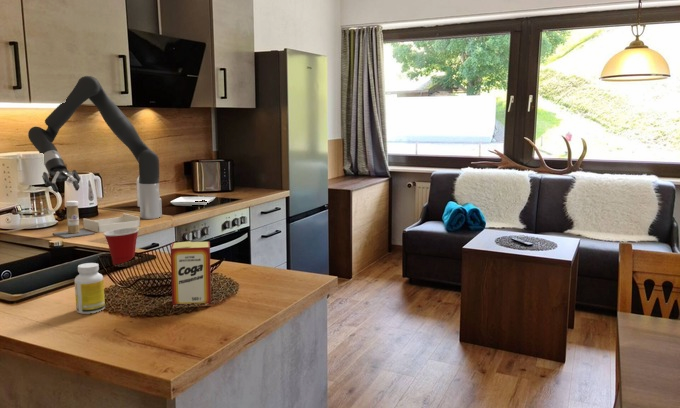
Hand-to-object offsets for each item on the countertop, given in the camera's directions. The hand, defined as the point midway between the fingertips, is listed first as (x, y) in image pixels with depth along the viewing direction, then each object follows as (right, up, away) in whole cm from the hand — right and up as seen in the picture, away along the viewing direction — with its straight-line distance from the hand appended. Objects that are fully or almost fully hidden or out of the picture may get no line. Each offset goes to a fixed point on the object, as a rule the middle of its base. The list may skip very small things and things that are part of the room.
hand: (67, 190), depth 231 cm
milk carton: (+10, -7, +68) cm, 69 cm away
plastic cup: (+47, -26, -57) cm, 79 cm away
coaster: (+7, -19, -9) cm, 22 cm away
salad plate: (+33, -6, +80) cm, 87 cm away
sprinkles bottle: (+7, -18, -9) cm, 22 cm away
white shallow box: (+17, -16, +6) cm, 24 cm away
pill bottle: (+56, -33, -98) cm, 118 cm away
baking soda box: (+80, -32, -92) cm, 126 cm away
